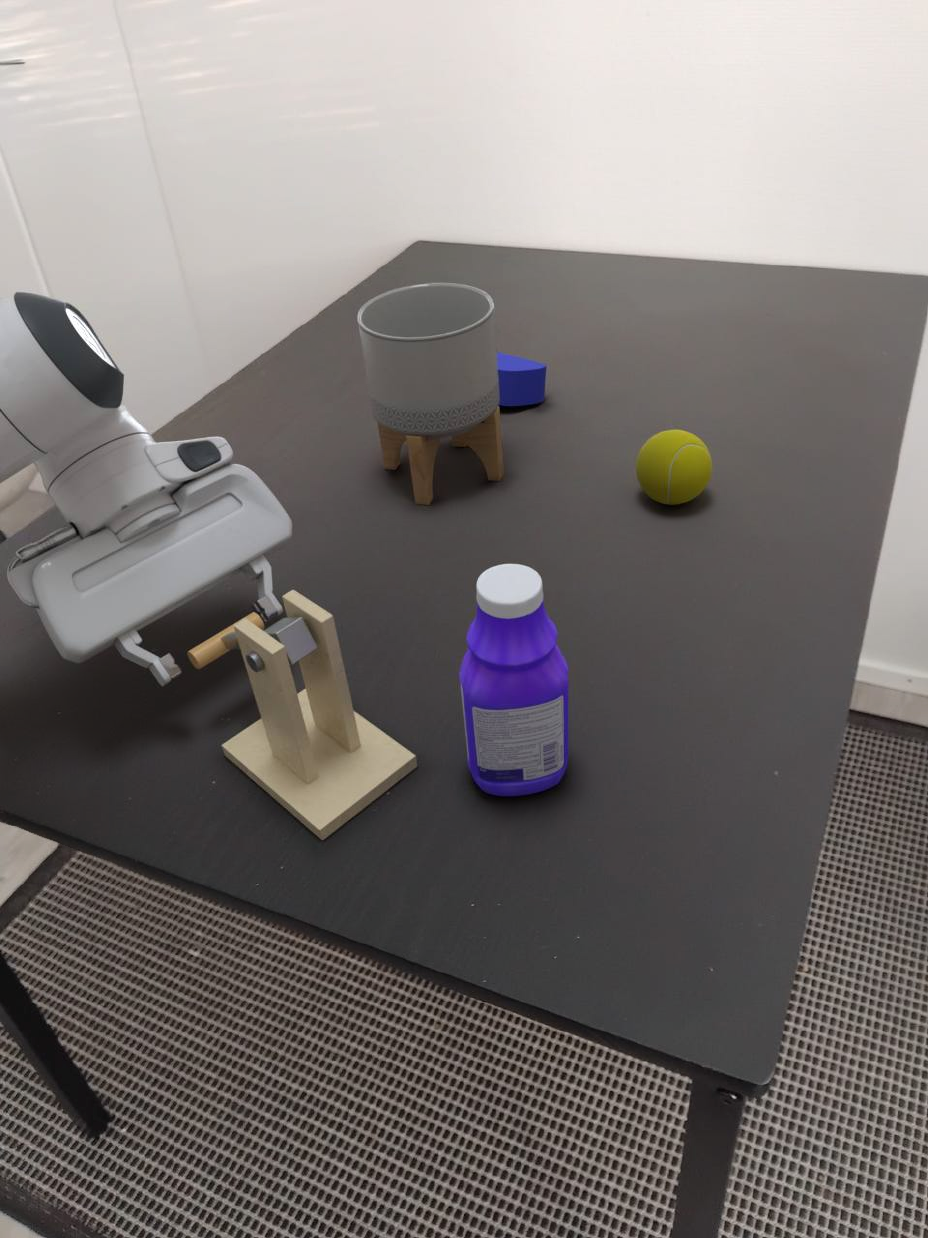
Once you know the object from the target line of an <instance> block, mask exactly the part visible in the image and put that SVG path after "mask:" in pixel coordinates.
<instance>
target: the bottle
mask: <svg viewBox="0 0 928 1238" xmlns="http://www.w3.org/2000/svg"><path fill="white" fill-rule="evenodd" d="M475 584H476V586H475V587H476V597H475V598H476V599H475V600H476V615H475V618H474V619H473V620H472V621H471V623H470V626H469V627H468V630H467V633H466V645H467V647H468V648H467V650H466V652H465V654H464V656H463V659H462V662H461V665H460V669H459V673H458V676H459V682H460V693H461V703H462V714H463V723H464V733H465V743H466V753H467V754H466V755H467V756H466V757H467V758H466V760H467V766H468V769H469V771H470V773H471V776H472V779H473V780H474V782H475V784H476V785H477V787H479V788H480V789H481V790H482V791H483V792H484V793H486V794H488V795H489V794H490V795H493V796H498V797H517V796H518V797H519V796H525V795H532V794H537V793H541V792H544V791H546V790H549V789H551V788H552V787H554V786H556V785H558V784H559V783H560V781H561V780H562V778H563V777H564V774H565V773H566V770H567V766H568V760H569V695H570V694H569V676H568V673H569V666H568V664H567V663H568V662H567V660H566V658H565V657H564V656H563V653H562V651H561V649H560V647H559V646H558V645H557V641H558V629H557V627H556V625H555V623H554V622H553V621H552V620H551V618H550V617H549V616H548V614H547V610H546V607H545V603H544V590H543V581H542V577H541V575H540V574H539V573H538V572H537V571H536V570H535V569H534V568H532V567H529V566H527V565H524V564H520V563H503V564H498V565H494V566H491V567H490V568H487V569H486V570H484V571H483V572H482V573H480V575H479V576H478V578H477V581H476V583H475Z"/></svg>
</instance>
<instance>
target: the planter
mask: <svg viewBox="0 0 928 1238" xmlns="http://www.w3.org/2000/svg"><path fill="white" fill-rule="evenodd" d="M495 317H496V316H495V304H494V299H493V298H492V296H491V295H490V294H488V292H486V291H484V290H482V289H481V288H478V287H474V286H471V285H466V284H461V283H454V282H453V283H451V282H428V283H420V284H419V283H418V284H413V285H407V286H403V287H399V288H394V289H391V290H388V291H385V292H383V293H381V294H379V295H377V296H374V297H372V298H371V299H369V300H368V301H367V302H365V303H364V304H363V305H362V306H361V307H360V308H359V309H358V313H357V316H356V318H357V319H356V320H357V327H358V332H359V338H360V344H361V350H362V351H361V352H362V357H363V364H364V371H365V376H366V383H367V389H368V394H369V401H370V408H371V414H372V416H373V418H374V420H376V423H377V429H378V435H379V442H380V448H381V455H382V462H383V469H384V470H391V471H392V470H393V471H396V470H397V468H398V467H399V466H400V464H401V451H402V447H403V445H404V443H405V442H406V445H407V452H408V453H407V454H408V459H409V468H410V474H411V475H410V476H411V482H412V490H413V497H414V501H415V502H414V503H415V504H417V505H425V506H430V504H431V503H432V501H433V500H434V494H433V492H434V491H433V478H434V467H435V461H436V457H437V451H438V447H439V445H440V443H441V440H442V439H446V438H451V444H452V447H459V448H466V447H467V446H468V447H469V448H470V449H472V451H473V452H474V453H475V454H476V455H477V456H478V458H479V459H480V460H481V462H482V464H483V466H484V468H485V471H486V475H487V480H488V481H496V482H500V481H501V480H502V477H503V476H504V459H503V444H502V443H503V441H502V428H501V412H500V411H501V410H500V405H499V401H500V393H499V378H498V362H497V352H498V350H497V349H498V348H497V334H496V318H495Z"/></svg>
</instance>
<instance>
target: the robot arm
mask: <svg viewBox="0 0 928 1238" xmlns="http://www.w3.org/2000/svg"><path fill="white" fill-rule="evenodd" d="M124 383H125V374H124V373H123V372H122V371H121V369H120V368H119V367H118V365H117V364H116V362H115V360H113V358H112V356H111V355H110V353H109V352H108V351H107V349H106V347H105V346H104V344H103V343H102V341H101V340H100V338H99V336H98V335H97V333H96V332H95V329H94V328H93V327H92V325H91V323H90V322H89V321H88V319H87V318H86V317H85V315H84V314H83V313H82V312H81V311H80V310H79V309H78V308H77V307H75V305H73V304H71V303H70V302H67V301H63V300H60V299H57V298H54V297H49V296H46V295H43V294H37V293H32V292H25V291H23V292H22V291H15V293H14V294H11V295H7V296H5V297H1V298H0V484H2V483H4V482H5V481H6V480H8V479H9V478H11V477H12V476H13V477H14V475H16V474H18V473H19V472H21V471H23V470H24V469H26V468H27V467H29V466H30V465H32V464H34V466H35V468H36V469H37V471H38V473H39V475H40V477H41V481H42V485H43V487H44V489H45V491H46V494H47V495H48V496H49V498H50V499H51V501H52V502H53V503H54V505H55V506H56V508H57V509H58V511H59V512H60V514H61V515H62V517H63V518H64V520H65V521H66V523H67V525H64V526H62V527H61V528H59V529H56V530H54V531H53V532H50V533H49V534H47V535H45V536H44V537H43V538H41V539H39V540H37V541H35V542H33V543H32V542H31V543H28V544H26V545H24V546H22V547H20V548H19V549H17V550H16V552H15V557H13V559H12V560H11V561H10V563H9V564H8V566H7V570H6V578H7V581H8V583H9V585H10V586H11V587H12V589H13V591H14V592H15V594H16V595H17V597H18V598H19V600H21V601H22V602H23V603H24V604H25V605H27V606H29V607H31V608H34V609H35V610H36V612H37V614H38V617H39V618H40V621H41V623H42V625H43V627H44V629H45V631H46V633H47V635H48V637H49V639H50V640H51V642H52V644H53V646H54V647H55V649H56V650H57V652H58V653H59V656H61V658H63V659H64V660H66V661H69V662H72V663H75V664H82V663H84V662H86V661H87V660H90V659H91V658H93V657H95V656H97V655H99V654H100V653H101V652H103V651H105V650H107V649H109V648H111V647H112V646H114V647H115V649H117V651H118V652H119V654H120V655H121V656H122V658H123V659H126V660H128V661H130V662H132V663H135V664H136V665H139V666H140V667H142V668H144V669H149V671H150V673H152V675H153V677H154V678H155V679H156V681H157V682H158V684H159V685H160V686H161V687H164V686H167V685H168V684H169V683H171V682H173V681H174V680H175V679H177V678H179V677H180V676H181V675H182V674H183V672H182V669H181V668H180V666H179V665H178V664H176V663H175V659H174V657H173V655H171V653H170V652H168V653H167V654H165V655H164V656H162V657H159V656H158V655H156V654H154V653H152V652H150V651H148V650H146V649H144V648H142V647H140V645H141V643H142V642H143V639H142V637H141V636H140V634H139V633H138V632H139V631H140V630H142V629H144V628H145V627H147V626H149V625H150V624H152V623H154V622H156V621H158V620H160V619H161V618H163V617H165V616H167V615H168V614H171V613H172V612H174V611H175V610H176V609H179V608H181V607H182V606H184V605H185V604H188V603H189V602H191V601H193V600H194V599H197V598H199V596H201V595H203V594H205V593H207V592H208V591H210V590H212V589H213V588H215V587H217V586H218V585H220V584H222V583H224V582H227V581H228V580H230V579H231V578H233V577H234V576H237V575H238V574H240V573H242V572H243V574H244V575H245V577H246V578H247V580H248V581H249V582H254V581H256V587H257V598H258V599H257V600H256V601H255V602H254V603H253V604H252V605H251V608H252V610H253V611H254V612H255V613H256V614H258V615H259V616H260V618H261V619H262V621H263V623H264V624H267V623H268V622H270V621H272V620H274V619H275V618H277V617H278V616H280V615H281V614H282V613H283V611H284V608H283V606H282V605H281V603H280V602H279V600H278V598H277V597H276V595H275V594H274V593H273V591H274V587H273V573H272V565H270V563H269V561H268V560H267V558H269V557H270V556H271V555H273V554H275V553H276V552H278V551H280V550H281V549H282V548H284V547H285V545H287V543H288V542H289V541H290V540H291V539H292V536H293V521H292V519H291V518H290V515H289V514H288V513H287V511H286V509H285V508H284V506H283V505H282V503H281V502H280V501H279V500H278V498H277V497H276V496H275V495H274V493H273V492H272V491H271V490H270V488H269V487H268V486H267V484H266V483H265V482H264V481H263V479H261V478H260V477H259V476H258V474H256V473H255V472H254V471H253V470H251V469H250V468H249V467H247V466H244V465H242V464H238V463H231V462H232V460H233V457H234V451H233V449H232V447H231V445H230V444H229V442H228V441H227V439H226V438H224V437H221V436H207V437H201V438H193V439H185V440H177V441H162V442H161V441H160V442H156V441H155V439H154V437H152V435H151V434H150V432H149V431H148V429H147V428H145V427H144V426H143V425H142V424H140V423H139V422H138V421H137V420H136V419H135V418H134V417H133V416H132V414H131V413H130V411H129V410H128V408H127V406H126V403H125V401H124V397H123V395H124V385H125V384H124ZM19 562H20V563H21V564H19ZM18 564H19V565H18Z"/></svg>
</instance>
